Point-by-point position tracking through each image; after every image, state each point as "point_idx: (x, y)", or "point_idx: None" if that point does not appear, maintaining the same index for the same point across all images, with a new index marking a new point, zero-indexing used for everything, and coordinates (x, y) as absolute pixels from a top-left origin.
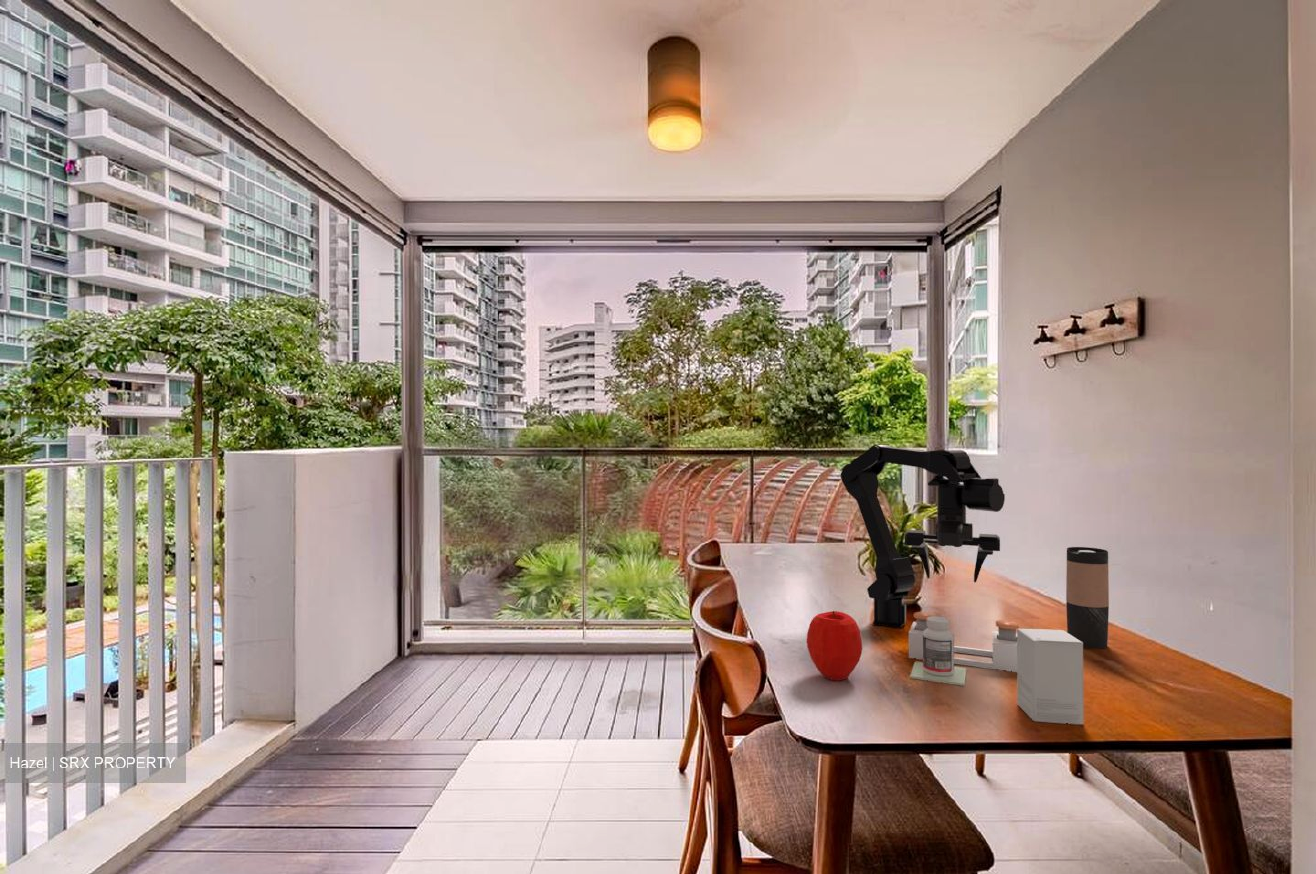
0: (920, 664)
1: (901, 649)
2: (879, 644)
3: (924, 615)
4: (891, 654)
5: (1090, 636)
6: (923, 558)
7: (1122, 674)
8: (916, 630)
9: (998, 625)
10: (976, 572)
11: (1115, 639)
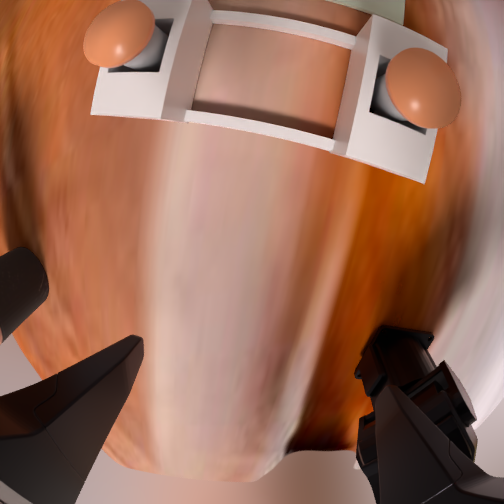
0: (391, 5)
1: None
2: (464, 174)
3: (427, 71)
4: None
5: (9, 255)
6: (462, 465)
7: (11, 105)
8: None
9: (149, 8)
10: (98, 365)
11: None
